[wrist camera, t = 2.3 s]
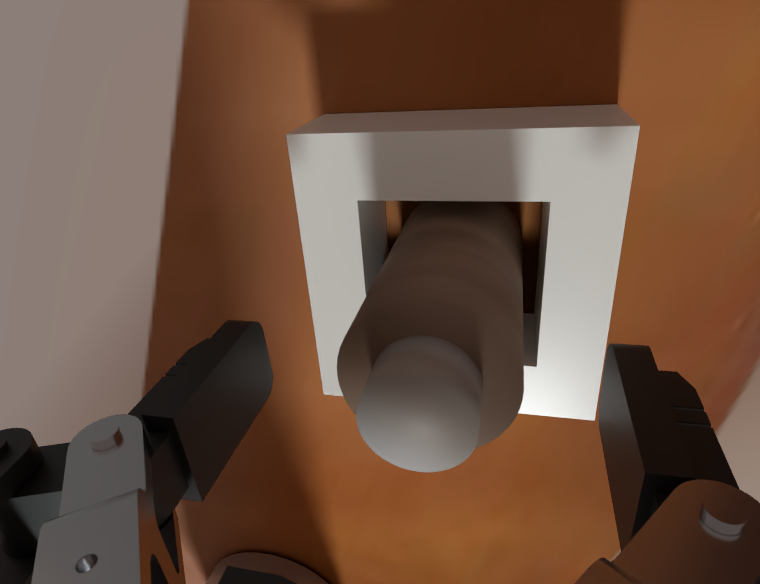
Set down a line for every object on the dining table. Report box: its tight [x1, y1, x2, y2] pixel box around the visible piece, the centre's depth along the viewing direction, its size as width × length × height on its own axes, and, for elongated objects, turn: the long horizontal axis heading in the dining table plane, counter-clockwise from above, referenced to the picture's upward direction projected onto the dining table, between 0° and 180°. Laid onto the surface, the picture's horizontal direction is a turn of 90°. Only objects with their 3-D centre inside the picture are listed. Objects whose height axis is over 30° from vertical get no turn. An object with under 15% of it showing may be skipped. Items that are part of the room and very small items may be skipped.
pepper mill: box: [337, 201, 524, 472], centre depth 15 cm, size 4×4×10 cm
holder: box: [286, 104, 640, 421], centre depth 18 cm, size 10×10×4 cm
